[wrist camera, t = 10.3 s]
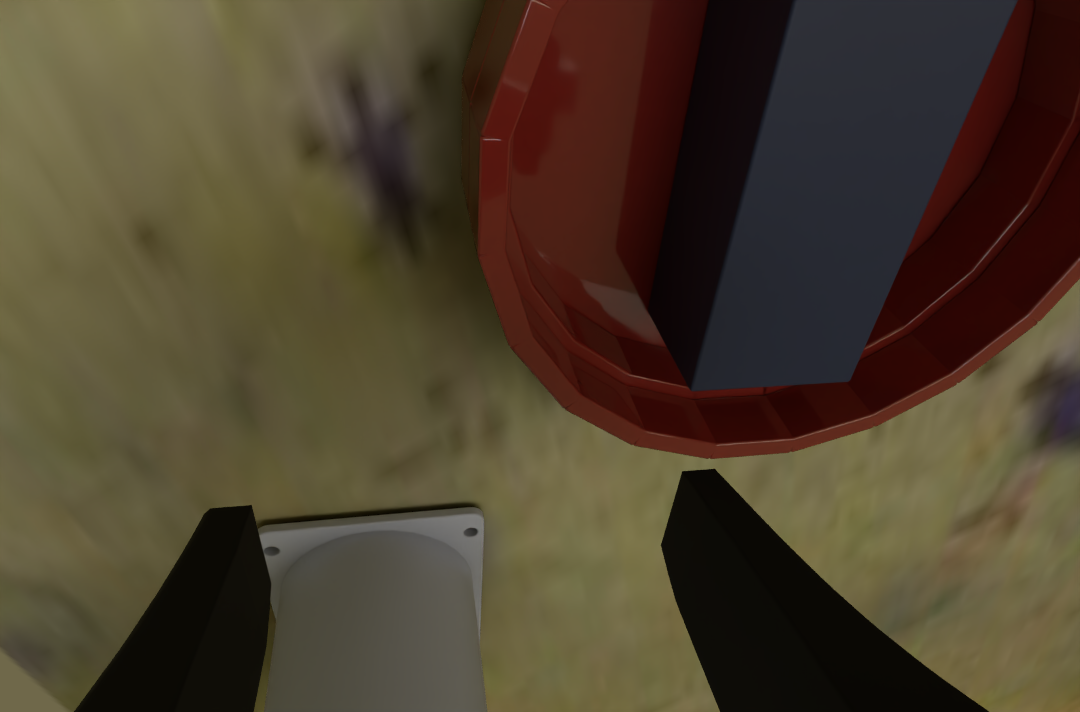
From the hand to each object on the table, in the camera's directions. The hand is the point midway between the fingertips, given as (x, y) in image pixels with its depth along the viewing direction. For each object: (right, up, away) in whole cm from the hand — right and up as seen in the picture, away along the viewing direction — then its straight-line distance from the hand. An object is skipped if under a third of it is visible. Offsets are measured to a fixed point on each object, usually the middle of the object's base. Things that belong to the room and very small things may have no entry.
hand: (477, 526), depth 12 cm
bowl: (+7, +9, +7) cm, 13 cm away
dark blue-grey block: (+7, +9, +6) cm, 13 cm away
